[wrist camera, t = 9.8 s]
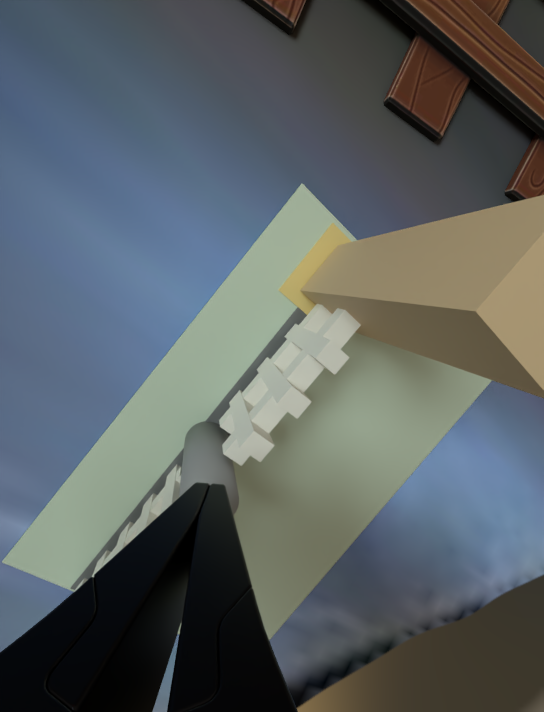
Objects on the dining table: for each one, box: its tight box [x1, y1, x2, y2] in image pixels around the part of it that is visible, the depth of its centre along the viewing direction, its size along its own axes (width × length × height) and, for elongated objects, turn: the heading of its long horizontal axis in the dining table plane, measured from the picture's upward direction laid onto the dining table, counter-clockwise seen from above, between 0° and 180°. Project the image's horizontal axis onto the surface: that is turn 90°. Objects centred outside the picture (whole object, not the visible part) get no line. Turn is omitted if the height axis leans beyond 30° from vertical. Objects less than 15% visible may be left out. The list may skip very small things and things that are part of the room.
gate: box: [219, 195, 544, 466], centre depth 12 cm, size 11×3×12 cm, turn 139°
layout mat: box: [2, 184, 492, 640], centre depth 19 cm, size 25×17×1 cm
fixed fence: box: [74, 421, 239, 592], centre depth 16 cm, size 13×2×6 cm, turn 140°
